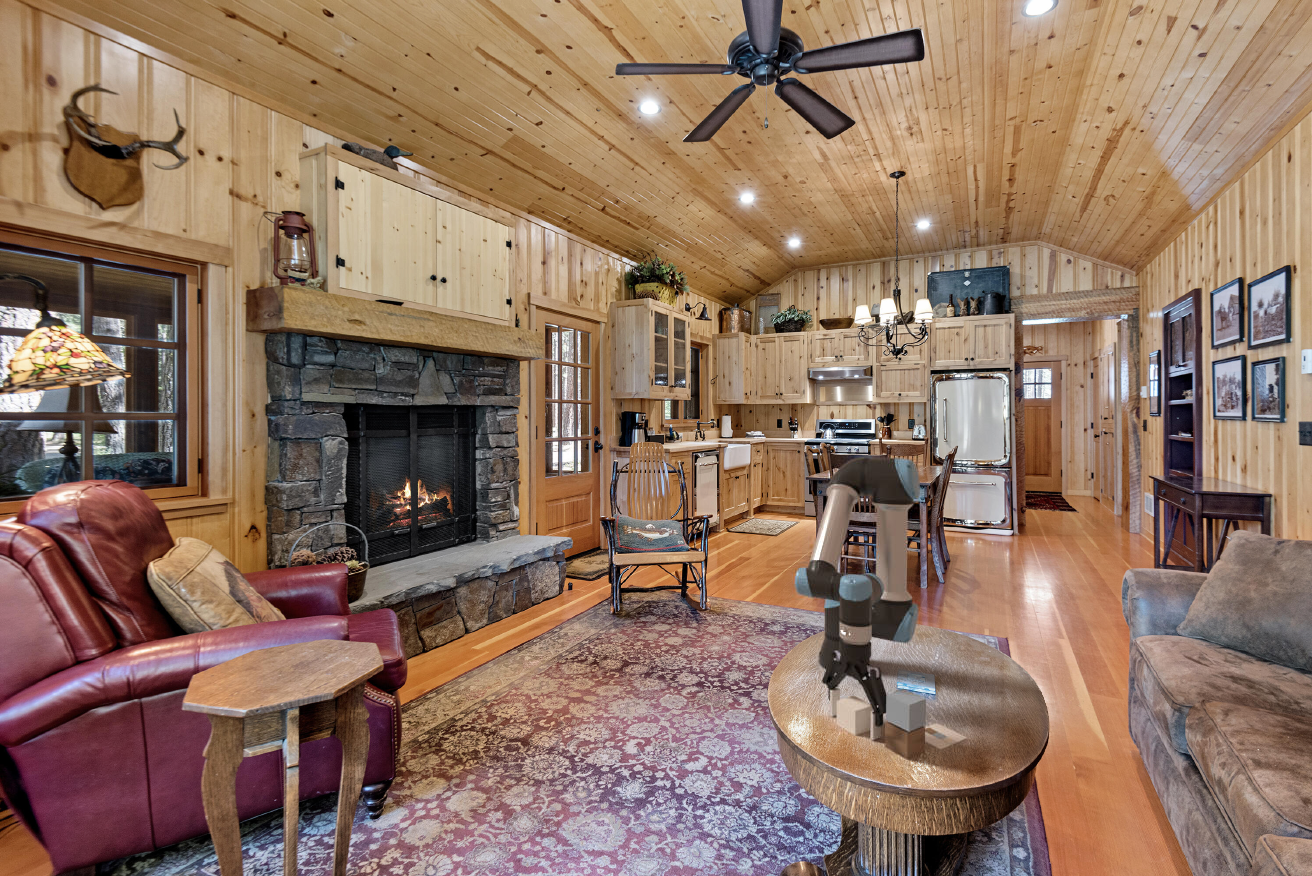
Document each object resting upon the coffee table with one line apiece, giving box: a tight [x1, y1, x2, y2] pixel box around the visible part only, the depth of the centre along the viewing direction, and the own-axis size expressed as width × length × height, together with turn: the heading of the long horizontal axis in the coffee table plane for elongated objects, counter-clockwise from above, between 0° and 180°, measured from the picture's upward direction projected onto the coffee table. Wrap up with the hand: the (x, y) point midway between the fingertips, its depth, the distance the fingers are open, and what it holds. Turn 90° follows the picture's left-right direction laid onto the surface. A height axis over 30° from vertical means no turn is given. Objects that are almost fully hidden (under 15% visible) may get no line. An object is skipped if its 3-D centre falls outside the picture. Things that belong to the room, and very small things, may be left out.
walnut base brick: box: [884, 720, 926, 761], centre depth 136 cm, size 6×6×6 cm
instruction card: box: [924, 722, 968, 751], centre depth 142 cm, size 8×10×1 cm
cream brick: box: [836, 695, 873, 736], centre depth 147 cm, size 6×6×6 cm
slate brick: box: [885, 688, 927, 732], centre depth 136 cm, size 6×6×6 cm
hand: (854, 726), depth 147 cm, fingers open, 12 cm apart
